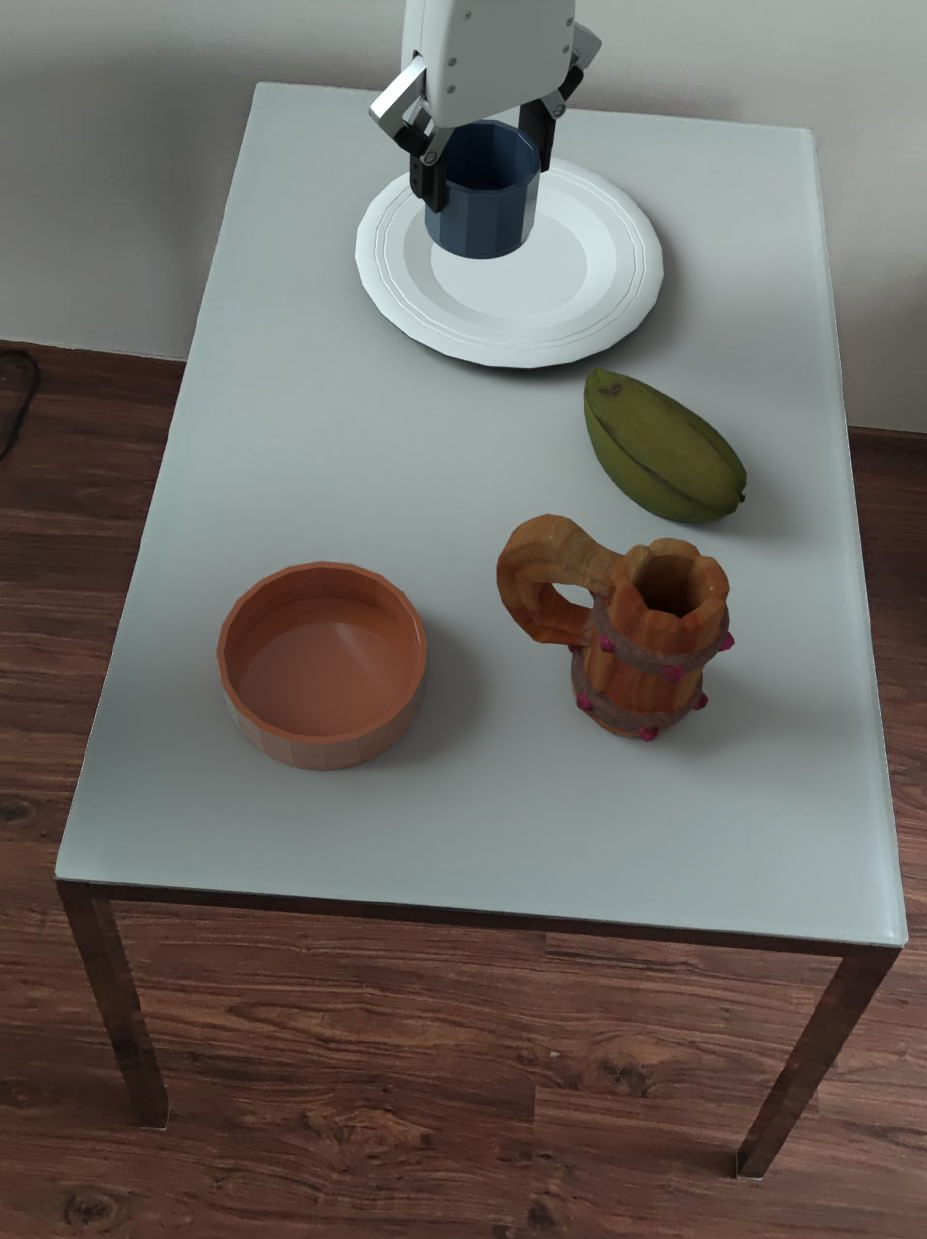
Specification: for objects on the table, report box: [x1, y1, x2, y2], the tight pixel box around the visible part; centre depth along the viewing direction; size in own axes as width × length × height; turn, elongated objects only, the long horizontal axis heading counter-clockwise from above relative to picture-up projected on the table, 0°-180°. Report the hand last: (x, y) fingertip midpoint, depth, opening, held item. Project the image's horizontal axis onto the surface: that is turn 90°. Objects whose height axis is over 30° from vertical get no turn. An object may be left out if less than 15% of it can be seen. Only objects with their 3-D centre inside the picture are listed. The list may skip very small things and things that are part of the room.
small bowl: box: [424, 118, 541, 260], centre depth 83 cm, size 8×8×6 cm
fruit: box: [583, 366, 748, 523], centre depth 87 cm, size 11×12×7 cm
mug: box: [495, 513, 736, 743], centre depth 74 cm, size 15×8×15 cm, turn 65°
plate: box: [354, 156, 665, 371], centre depth 99 cm, size 25×25×2 cm
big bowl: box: [215, 560, 429, 771], centre depth 78 cm, size 13×13×4 cm
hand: (481, 178), depth 82 cm, fingers closed on small bowl, 7 cm apart
